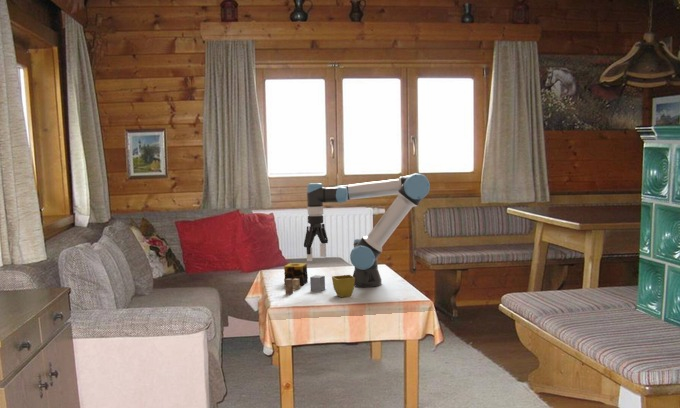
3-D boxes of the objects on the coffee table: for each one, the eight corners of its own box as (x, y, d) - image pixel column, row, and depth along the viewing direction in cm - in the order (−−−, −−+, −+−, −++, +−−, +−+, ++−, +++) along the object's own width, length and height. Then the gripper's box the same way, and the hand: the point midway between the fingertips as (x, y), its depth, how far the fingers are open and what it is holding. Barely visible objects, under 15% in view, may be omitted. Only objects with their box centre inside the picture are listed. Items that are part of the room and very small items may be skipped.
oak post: (299, 288, 314) (299, 278, 313) (297, 289, 311) (296, 279, 311) (295, 288, 315) (295, 278, 314) (292, 289, 313) (292, 279, 312)
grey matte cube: (325, 289, 311) (324, 275, 311) (320, 291, 307) (319, 277, 306) (315, 288, 313) (315, 275, 313) (310, 290, 309) (310, 277, 308)
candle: (303, 286, 321) (302, 266, 320) (284, 285, 323) (283, 266, 322) (308, 282, 331) (307, 263, 330) (289, 281, 333) (288, 262, 332)
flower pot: (337, 298, 289) (336, 279, 289) (332, 295, 298) (331, 276, 297) (355, 297, 292) (355, 277, 291) (350, 293, 300) (349, 274, 300)
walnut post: (293, 293, 304) (292, 278, 303) (290, 294, 302) (289, 279, 301) (288, 292, 305) (287, 278, 305) (285, 294, 303) (285, 279, 302)
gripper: (320, 212, 320) (321, 254, 322) (295, 217, 298) (296, 262, 299) (334, 213, 317) (335, 255, 318) (309, 217, 295) (310, 263, 296)
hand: (316, 258), depth 309 cm, fingers open, 13 cm apart
